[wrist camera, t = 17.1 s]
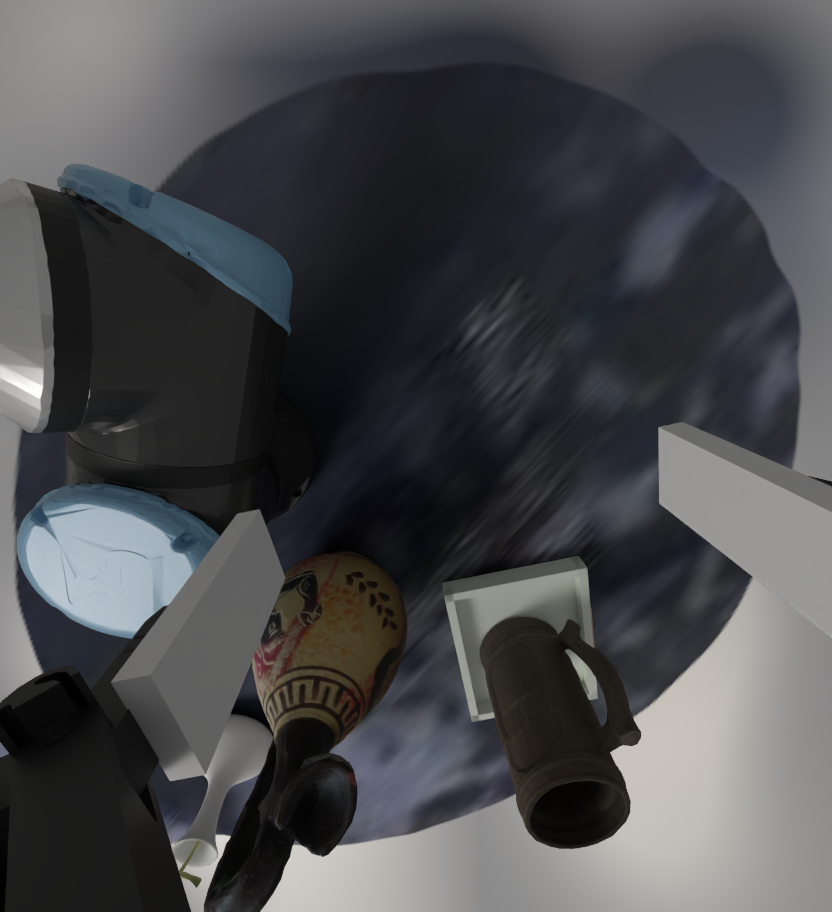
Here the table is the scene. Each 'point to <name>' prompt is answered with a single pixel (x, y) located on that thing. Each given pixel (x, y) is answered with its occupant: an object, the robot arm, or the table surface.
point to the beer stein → (558, 731)
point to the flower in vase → (223, 788)
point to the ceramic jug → (311, 717)
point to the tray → (517, 595)
